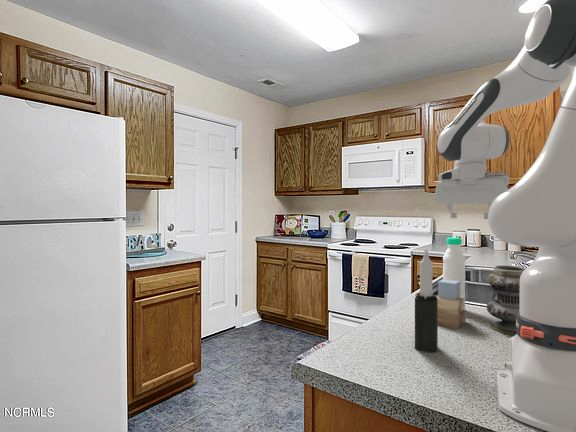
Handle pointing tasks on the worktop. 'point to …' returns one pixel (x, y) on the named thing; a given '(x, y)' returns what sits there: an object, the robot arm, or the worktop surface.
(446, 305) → the top block
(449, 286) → the blue cube
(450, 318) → the bottom block
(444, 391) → the worktop surface
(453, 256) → the water bottle
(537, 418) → the robot arm
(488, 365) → the worktop surface
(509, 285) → the apothecary jar
